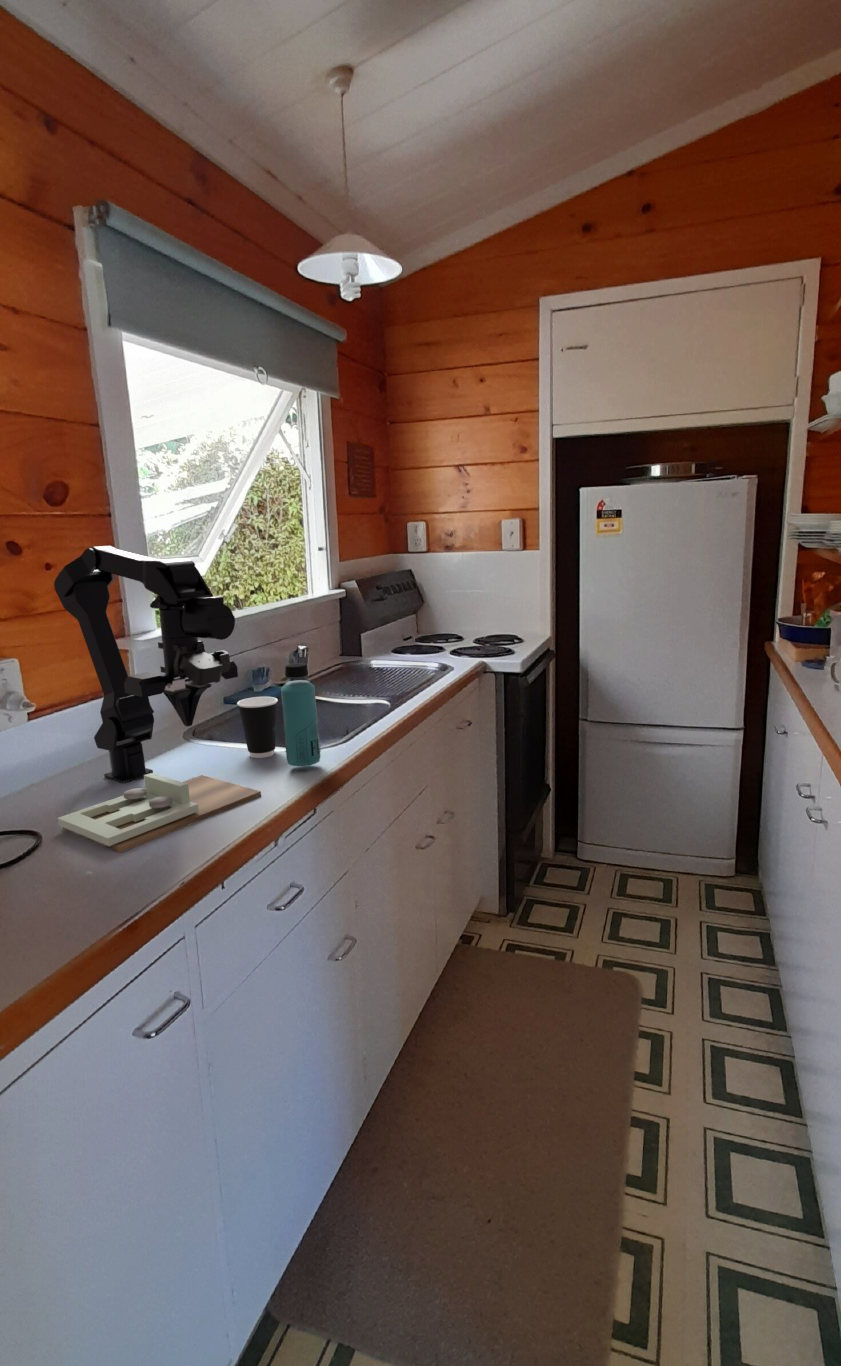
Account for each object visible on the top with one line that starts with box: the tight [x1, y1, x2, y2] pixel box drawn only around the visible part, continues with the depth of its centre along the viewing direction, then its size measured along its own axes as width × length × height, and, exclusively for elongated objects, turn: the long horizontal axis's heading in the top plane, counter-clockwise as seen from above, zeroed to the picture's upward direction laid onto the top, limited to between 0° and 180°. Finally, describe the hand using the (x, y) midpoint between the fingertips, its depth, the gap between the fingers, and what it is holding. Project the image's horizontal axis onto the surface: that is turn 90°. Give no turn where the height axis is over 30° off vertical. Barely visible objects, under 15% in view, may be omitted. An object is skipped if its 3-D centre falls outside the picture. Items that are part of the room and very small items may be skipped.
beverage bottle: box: [280, 662, 322, 767], centre depth 136 cm, size 6×7×20 cm
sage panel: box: [57, 772, 199, 846], centre depth 114 cm, size 14×15×4 cm
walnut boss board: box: [62, 774, 262, 853], centre depth 119 cm, size 16×26×4 cm, turn 143°
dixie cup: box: [236, 696, 279, 759], centre depth 147 cm, size 8×8×11 cm
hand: (188, 725), depth 126 cm, fingers closed
